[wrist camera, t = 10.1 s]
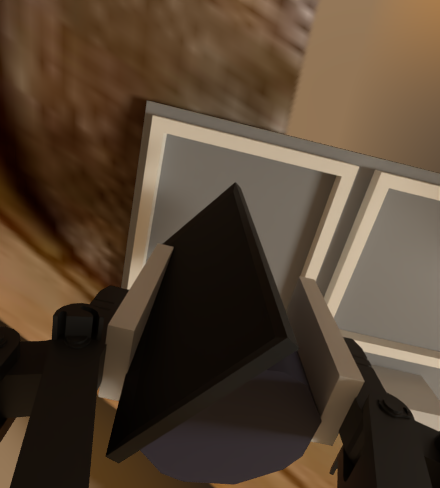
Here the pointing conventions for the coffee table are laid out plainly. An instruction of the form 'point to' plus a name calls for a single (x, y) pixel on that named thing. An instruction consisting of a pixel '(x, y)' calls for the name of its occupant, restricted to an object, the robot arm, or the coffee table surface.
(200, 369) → the speaker
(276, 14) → the coffee table surface
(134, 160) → the coffee table surface
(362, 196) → the dock board
